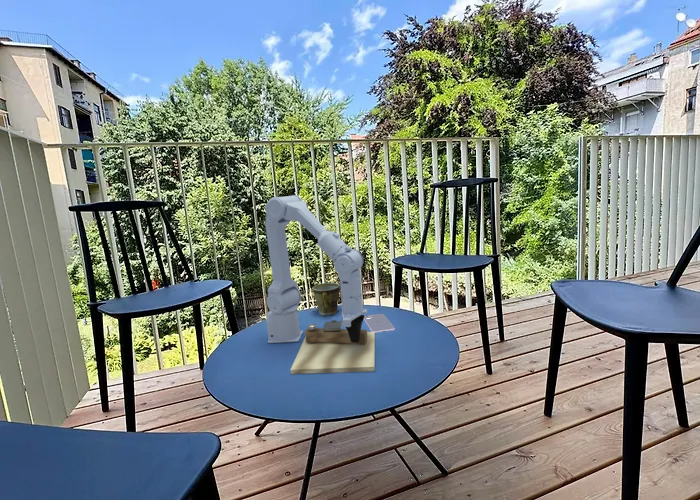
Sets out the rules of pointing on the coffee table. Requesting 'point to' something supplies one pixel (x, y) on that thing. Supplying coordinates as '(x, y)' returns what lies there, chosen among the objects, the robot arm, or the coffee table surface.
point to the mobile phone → (378, 323)
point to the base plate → (335, 357)
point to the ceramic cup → (327, 298)
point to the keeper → (328, 326)
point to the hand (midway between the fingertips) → (355, 341)
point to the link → (333, 336)
